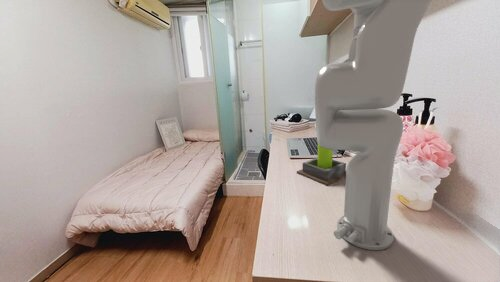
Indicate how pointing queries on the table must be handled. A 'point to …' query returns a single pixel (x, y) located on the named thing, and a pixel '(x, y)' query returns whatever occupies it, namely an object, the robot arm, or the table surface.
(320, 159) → the soap dispenser
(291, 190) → the table surface
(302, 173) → the box
